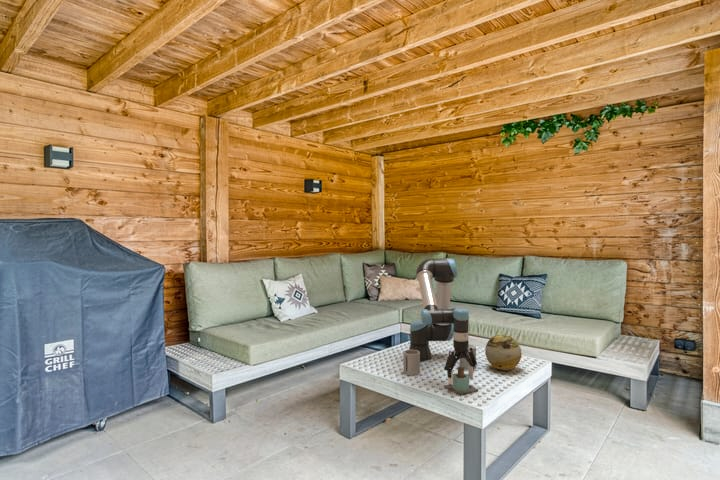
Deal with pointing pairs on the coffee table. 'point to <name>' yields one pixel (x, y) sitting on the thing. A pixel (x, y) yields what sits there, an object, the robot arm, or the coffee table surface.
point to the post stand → (471, 390)
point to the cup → (411, 362)
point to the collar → (460, 382)
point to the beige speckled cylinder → (464, 362)
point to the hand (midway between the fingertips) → (460, 381)
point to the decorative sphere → (503, 352)
